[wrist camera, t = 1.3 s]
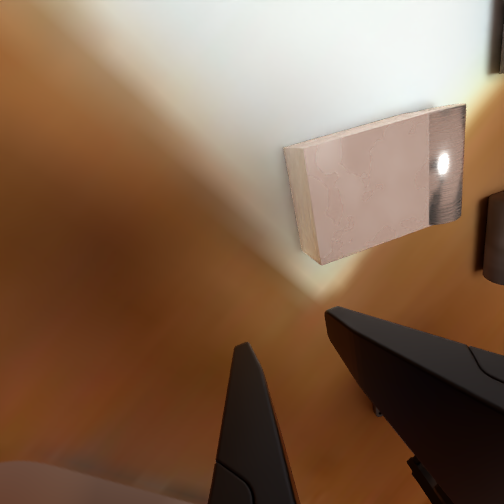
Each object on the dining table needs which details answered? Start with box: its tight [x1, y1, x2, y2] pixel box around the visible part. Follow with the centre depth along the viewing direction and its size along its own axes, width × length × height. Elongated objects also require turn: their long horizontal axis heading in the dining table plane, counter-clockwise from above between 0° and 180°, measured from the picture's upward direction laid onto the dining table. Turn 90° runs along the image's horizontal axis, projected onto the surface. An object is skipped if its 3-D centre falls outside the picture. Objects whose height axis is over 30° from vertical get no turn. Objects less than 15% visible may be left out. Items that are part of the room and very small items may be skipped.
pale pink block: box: [283, 104, 466, 265], centre depth 20 cm, size 7×11×4 cm, turn 103°
